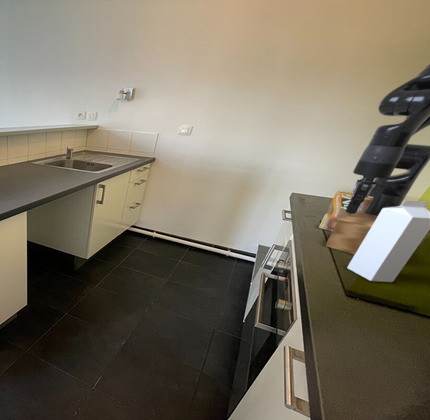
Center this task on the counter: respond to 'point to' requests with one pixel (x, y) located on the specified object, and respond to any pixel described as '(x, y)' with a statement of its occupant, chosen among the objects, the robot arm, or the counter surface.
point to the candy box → (342, 202)
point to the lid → (356, 218)
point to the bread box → (347, 236)
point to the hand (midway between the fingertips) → (350, 210)
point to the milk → (391, 241)
